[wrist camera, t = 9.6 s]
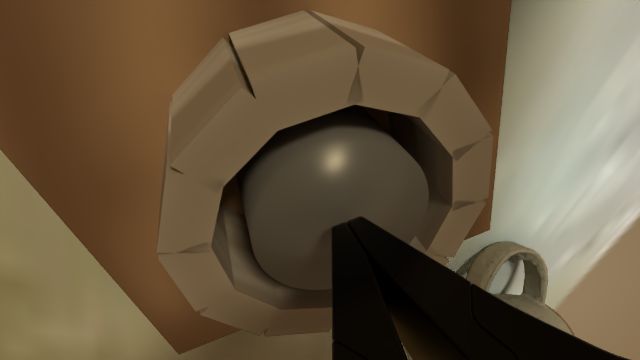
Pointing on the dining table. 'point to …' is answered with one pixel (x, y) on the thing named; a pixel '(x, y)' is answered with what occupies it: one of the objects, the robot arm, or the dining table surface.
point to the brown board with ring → (237, 131)
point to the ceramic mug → (533, 282)
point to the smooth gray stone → (326, 192)
